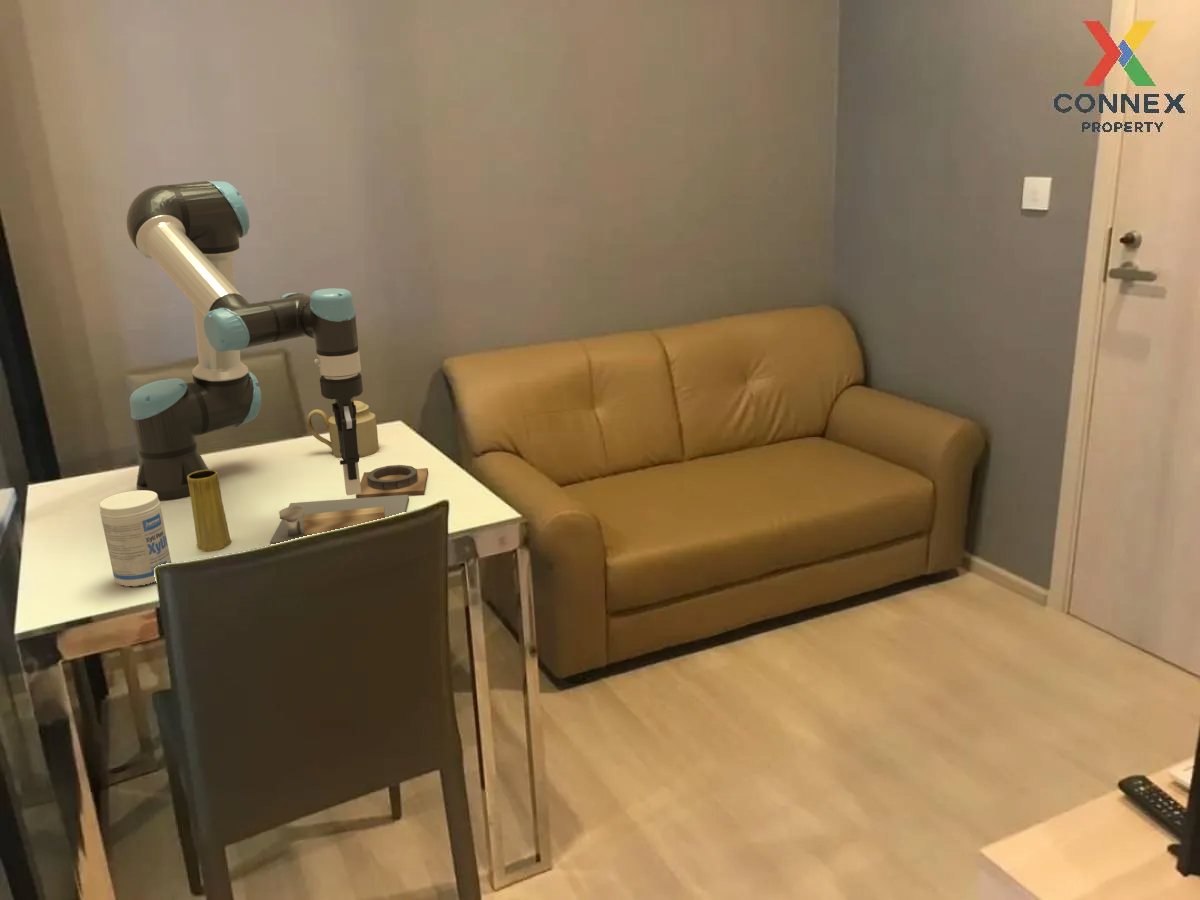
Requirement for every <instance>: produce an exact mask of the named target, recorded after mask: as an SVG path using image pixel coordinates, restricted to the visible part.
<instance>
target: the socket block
mask: <svg viewBox="0 0 1200 900" xmlns="http://www.w3.org/2000/svg"><path fill="white" fill-rule="evenodd" d="M428 475H429V468H428V467H424V468H415V467H413V466H411V465H405V464H393V465H386V466H381V467H378V468H375V469H373V470H371V471H365V472H363V474H362V477H361V479H360V486H361V494H355V498H369V497H383V496H397V495H408V496H409V497H412V496H423V495H425V492H426V486H427V480H428Z"/></svg>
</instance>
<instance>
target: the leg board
mask: <svg viewBox="0 0 1200 900" xmlns="http://www.w3.org/2000/svg"><path fill="white" fill-rule="evenodd" d="M409 497H410V496H408V495H397V496H383V497H369V498H356V497H355V498H345V499H344V498H342V499H331V500H330V499H329V500H328V499H327V500H316V501H315V500H314V501H303V502H302V501H301V502H299V501H298V502H290V503H289V505H288V507H294V506H297V507H302V508H303V510H304V515H306V514H315V513H325V512H335V511H345V510H355V509H365V508H375V507H384V509H385V517H389V516H392V515H396V514H399V513H402V512H406V513H407V509H408V505H409V501H410V498H409ZM304 515H303V516H302V517H301V518H299V521H300V528H301V535H299V536H296V537H290V536H288V531H287V524H286V520H282V519H281V521H280V522H279V523H278V526H277V527H276V530H275V532H274V533H273V535H272V538H271V539H270V541H269V545H271V544H276V543H280V542H284V541H288V540H291V539H295V538H299V537H303V536H307V535H305V534H304V527H303V517H304Z"/></svg>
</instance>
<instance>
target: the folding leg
mask: <svg viewBox="0 0 1200 900" xmlns="http://www.w3.org/2000/svg"><path fill="white" fill-rule="evenodd" d="M278 514H279V515H278V516H279V519H281V520H295V519H298V518H301V517H302V516H303V515H304V510H303V508H302V507H297V506H294V507H289V506H288V507H284V508H282V509H280V510H279V511H278ZM381 518H385V509H384V507H375V508H365V509H355V510H345V511H335V512H325V513H315V514H306V515H304V517H303V527H304V534H305V535H312V534H317V533H322V532H327V531H331V530H335V529H340V528H344V527H348V526H353V525H357V524H361V523H365V522H369V521H373V520H377V519H381Z"/></svg>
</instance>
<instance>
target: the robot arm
mask: <svg viewBox="0 0 1200 900" xmlns="http://www.w3.org/2000/svg"><path fill="white" fill-rule="evenodd" d="M250 224H251V223H250V216H249V211H248V208H247V205H246V203H245V201H244V199H243V196H242V195H241V194H240V192H239V191H238V189H237V188H236V187H235V186H234V185H232V184H231V183H229V182H227V181H222V180H221V181H216V180H215V181H214V180H213V181H211V180H205V181H194V182H187V183H176V184H162V185H154V186H151V187H148V188H146V189H144V190H143V191H141V192H140V193H139V194H137V196H135V198H134V199H133V201H132V202H131V203H130V206H129V208H128V210H127V215H126V230H127V234H128V237H129V239H130V240H131V242H132V245H134V247H136V249H137V250H138V251H139V253H141V255H143V256H144V257H145V258H147V259H150V260H154V261H155V263H156V264H158V266H159V267H160V268H161V269H162V271H164V272H165V273H166V275H167V276H168V277H169V278H170V279H171V280H172V281H173V283H174V284H175V285H176V286H177V287H178V288H179V289H180V291H181V292H183V294H184V295H185V297H187V298H188V300H190V303H191V302H192V304H193V314H194V324H195V325H194V326H195V335H196V336H195V337H196V346H197V355H198V357H197V358H198V364H196V366H195V367H193V368H192V372H191V373H192V381H191V382H186V380H185V379H183V378H179V377H173V378H172V377H171V378H167V379H160V380H154V381H152V382H148V383H146V384H143V385H142V386H139V387H138V388H137V389H135V390H134V391H133V392H132V393H131V395H130V396H129V405H130V417H131V419H132V423H133V424H132V425H133V427H134V429H133V430H134V433H135V438H136V444H137V449H138V454H139V455H138V456H139V460H140V461H139V465H138V466H139V467H138V470H137V471H138V472H137V478H136V491H138V490H147V491H153V492H155V493H157V495H158V499H159V501H166V500H174V499H180V498H181V499H182V498H186V497H188V496H189V497H190V491H189V486H188V480H187V476H188V475H189V474H190V473H193V472H196V471H200V470H210V469H209V467H208V466H207V464H206V462H205V460H204V459H203V457H202V456H201V454H200V452H199V450H198V445H197V440H196V439H197V436H202V435H205V434H209V433H214V432H217V431H222V430H225V429H230V428H233V427H234V428H237V427H240V426H241V425H244V424H246V423H250V422H252V421H253V420H254V419H256V418H257V417H258V415H259V414H260V413H259V412H260V410H261V405H262V391H261V390H262V389H261V387H260V386H259V381H258V379H257V377H256V375H254V373H253V372H251V371H250V370H249V368H248V366H247V365H245V364H244V362H242V361H241V350H244V349H248V348H252V347H257V346H262V345H266V344H270V343H271V344H272V343H277V342H281V341H287V340H292V339H298V338H303V337H306V338H311V339H313V340H314V343H315V350H316V354H317V355H316V356H317V358H315V359H314V360H313V362H314V364H315V365H317V366H318V373H319V375H320V377H319V384H320V386H319V387H320V394H321V396H322V397H323V398H325V399H327V400H335V402H333V403H331V408H332V412H333V415H335V423H336V425H337V429H338V436H339V444H340V453H341V454H342V456H341V457H342V458H341V460H339V464H340V466H341V465H342V469H343V478H344V480H343V481H344V486H345V487H344V488H345V494H346V496H354V495H356V494H361V486H360V482H361V479H360V469H359V462H360V458H361V457H360V455H359V454H358V445H357V433H356V427H357V425H356V422H357V420H356V406H355V405H354V402H353V401H352V402H351V399H352V398H353V399H354V398H355V397H358V396H359V397H360V396H361V394H363V392H364V387H363V378H362V377H363V376H362V374H361V373H360V372H361V370H362V365H361V356H360V355H361V354H360V349H359V340H358V339H359V338H358V328H357V327H358V326H357V319H356V318H357V317H356V315H357V313H356V309H355V306H354V298H353V294H352V292H351V291H350V290H348V289H347V288H336V287H335V288H334V287H333V288H331V287H329V288H322V289H317V290H315V291H313V292H311V294H310V295H308V294H307V293H302V292H297V293H296V292H287V293H285V294H284V295H282V296H280V297H279V298H277V299H273V300H265V301H259V302H254V303H250V302H249V301H248V300H247V299H246V298H245V297H244V296H243V295H242V294H241V293H240V292H239V291H238V290H237V289H236V283H235V273H234V271H235V270H234V258H233V256H235V254H236V253H237V252H238V251H239V250H240V238H241V239H242V238H244V237H245V236H247V235H248V233H249V229H250V226H251V225H250Z"/></svg>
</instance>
